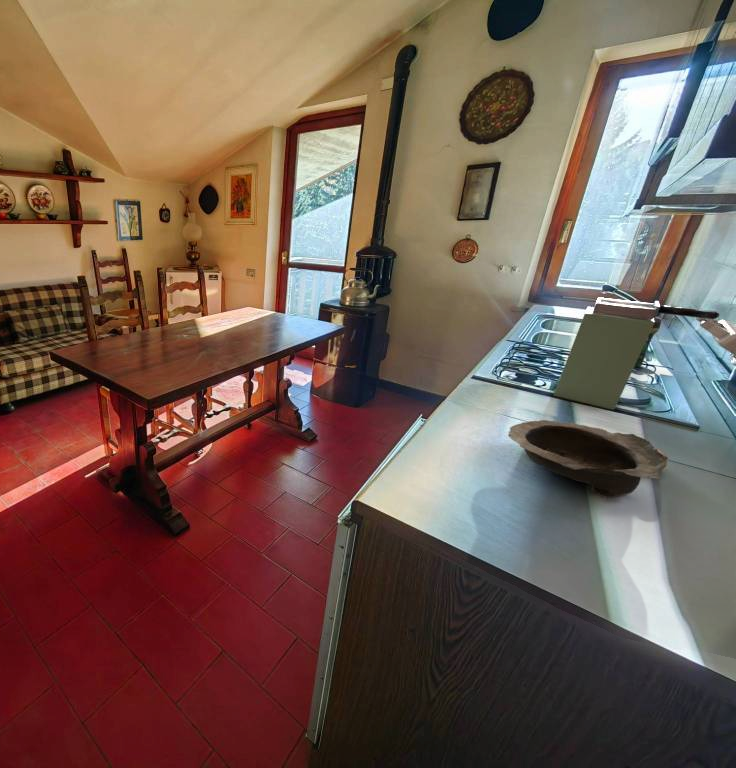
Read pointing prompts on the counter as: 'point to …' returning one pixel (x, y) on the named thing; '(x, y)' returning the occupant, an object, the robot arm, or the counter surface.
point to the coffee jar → (648, 341)
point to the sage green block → (602, 358)
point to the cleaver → (646, 309)
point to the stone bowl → (590, 454)
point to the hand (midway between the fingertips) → (700, 319)
